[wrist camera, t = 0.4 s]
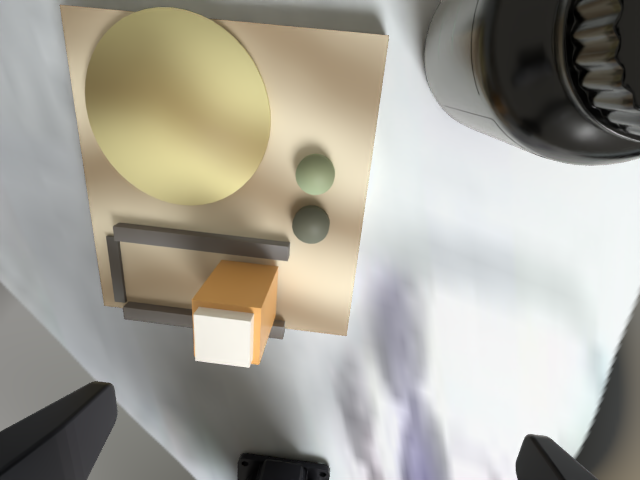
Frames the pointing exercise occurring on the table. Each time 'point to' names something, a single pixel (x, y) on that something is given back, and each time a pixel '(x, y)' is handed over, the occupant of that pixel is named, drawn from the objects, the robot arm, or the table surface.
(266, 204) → the panel
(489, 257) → the table surface
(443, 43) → the supplement bottle
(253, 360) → the orange rectangular block
